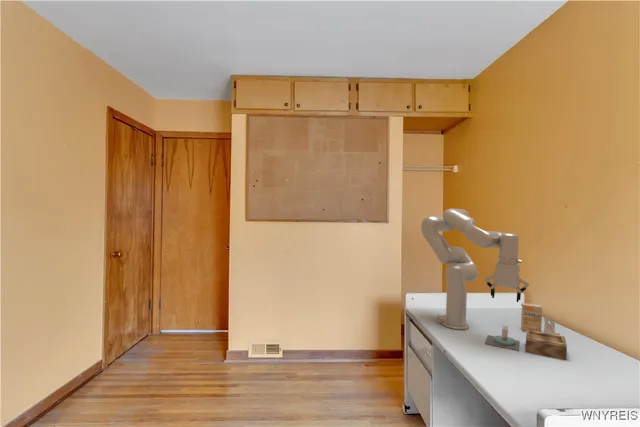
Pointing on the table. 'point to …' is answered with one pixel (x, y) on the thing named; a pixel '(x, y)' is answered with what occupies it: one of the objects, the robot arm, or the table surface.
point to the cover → (505, 338)
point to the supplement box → (531, 317)
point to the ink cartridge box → (550, 327)
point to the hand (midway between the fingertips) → (505, 299)
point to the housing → (546, 344)
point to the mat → (491, 342)
